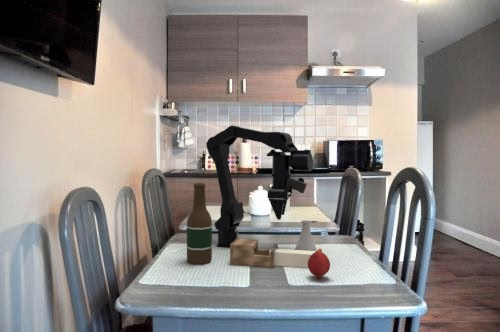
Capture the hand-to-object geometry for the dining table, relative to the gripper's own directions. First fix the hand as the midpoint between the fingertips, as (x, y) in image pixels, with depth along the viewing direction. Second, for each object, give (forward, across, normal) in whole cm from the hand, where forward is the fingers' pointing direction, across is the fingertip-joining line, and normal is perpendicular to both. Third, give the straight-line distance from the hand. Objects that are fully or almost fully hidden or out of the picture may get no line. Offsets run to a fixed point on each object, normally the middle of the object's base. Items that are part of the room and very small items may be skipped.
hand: (280, 217), depth 119 cm
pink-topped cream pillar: (+12, -12, -5) cm, 18 cm away
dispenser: (+12, -12, +6) cm, 18 cm away
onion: (+12, -22, -13) cm, 28 cm away
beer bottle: (+12, -15, +23) cm, 30 cm away
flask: (+12, +6, -8) cm, 16 cm away
